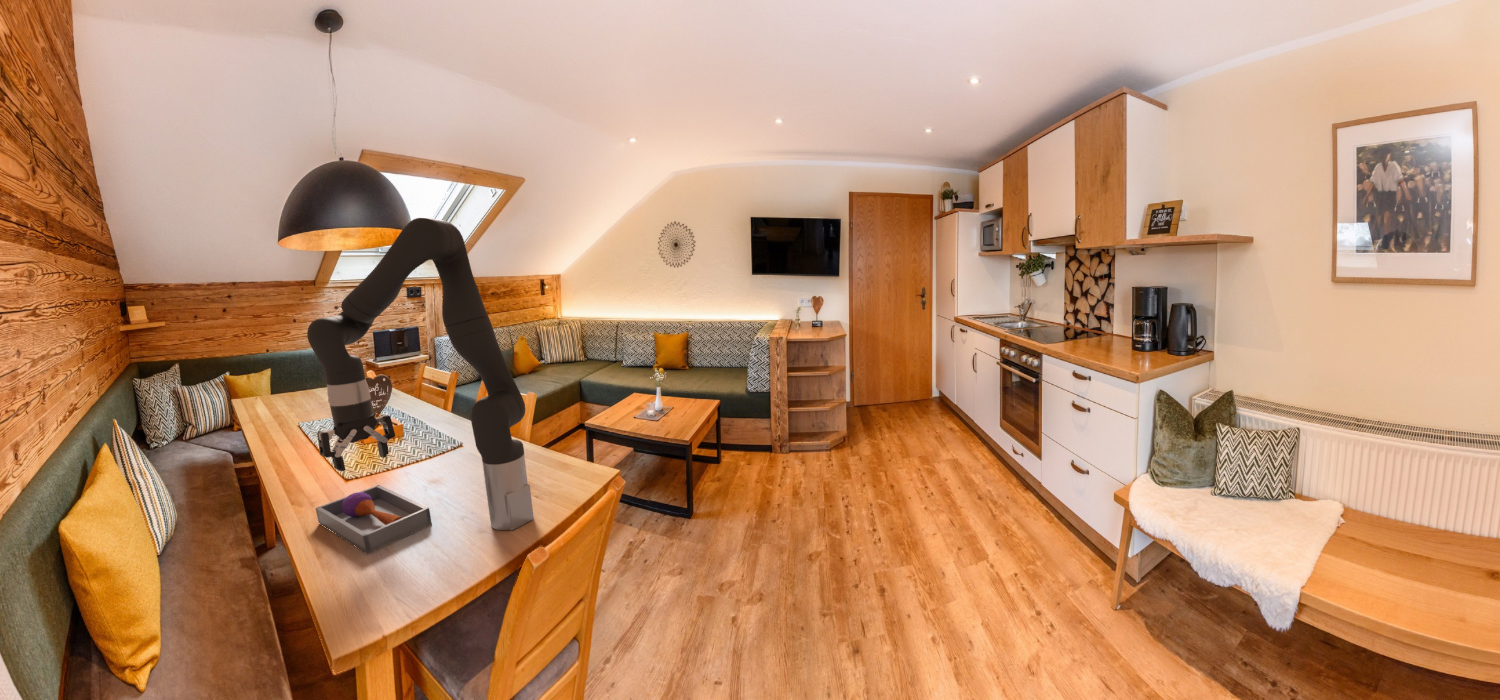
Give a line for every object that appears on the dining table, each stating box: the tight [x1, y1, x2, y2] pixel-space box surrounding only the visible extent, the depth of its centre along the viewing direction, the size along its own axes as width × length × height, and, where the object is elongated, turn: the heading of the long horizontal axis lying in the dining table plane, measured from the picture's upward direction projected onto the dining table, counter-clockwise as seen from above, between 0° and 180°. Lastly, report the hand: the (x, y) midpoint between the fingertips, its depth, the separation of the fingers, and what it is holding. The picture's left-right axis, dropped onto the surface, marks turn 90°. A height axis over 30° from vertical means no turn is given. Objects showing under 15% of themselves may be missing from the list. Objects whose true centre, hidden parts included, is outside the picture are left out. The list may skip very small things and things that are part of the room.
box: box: [315, 484, 432, 555], centre depth 118 cm, size 26×14×4 cm, turn 61°
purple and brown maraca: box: [342, 491, 403, 525], centre depth 118 cm, size 6×6×20 cm
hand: (363, 463), depth 115 cm, fingers open, 8 cm apart
